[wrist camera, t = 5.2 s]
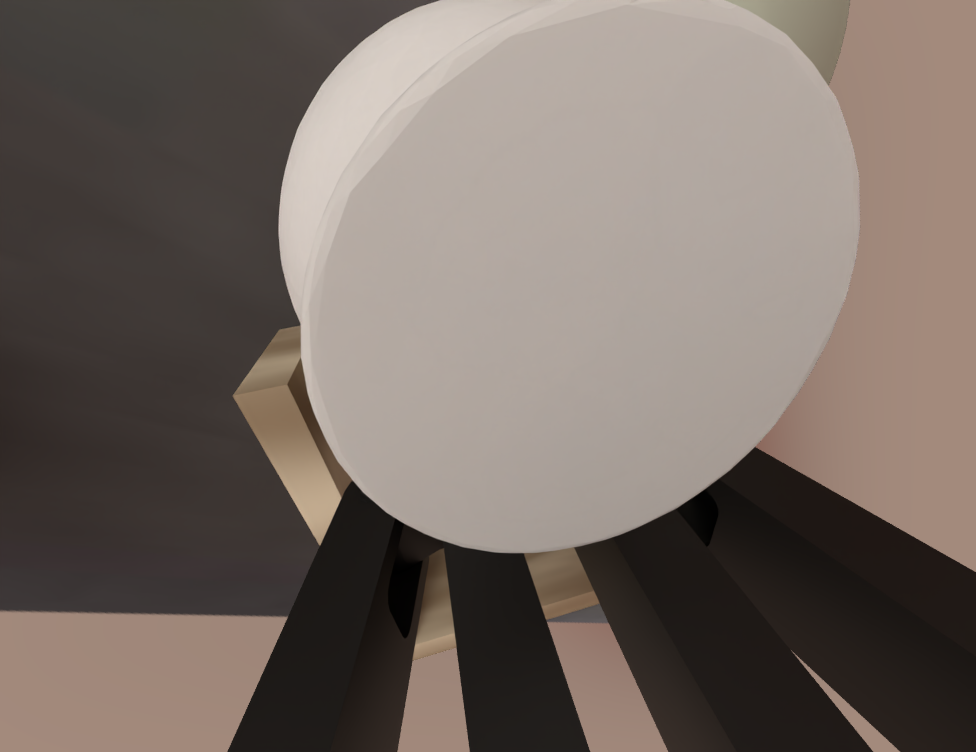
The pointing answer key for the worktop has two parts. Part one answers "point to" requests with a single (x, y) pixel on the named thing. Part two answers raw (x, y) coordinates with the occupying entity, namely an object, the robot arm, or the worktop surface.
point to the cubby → (322, 480)
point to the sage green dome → (807, 26)
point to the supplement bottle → (563, 258)
